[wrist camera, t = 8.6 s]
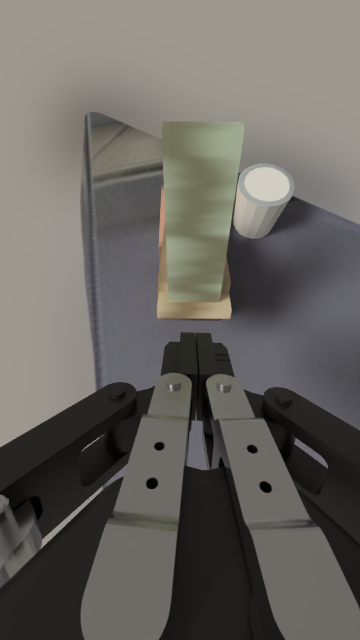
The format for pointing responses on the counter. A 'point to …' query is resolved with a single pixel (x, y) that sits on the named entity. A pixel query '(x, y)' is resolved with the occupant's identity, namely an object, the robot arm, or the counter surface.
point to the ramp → (197, 217)
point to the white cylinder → (261, 199)
